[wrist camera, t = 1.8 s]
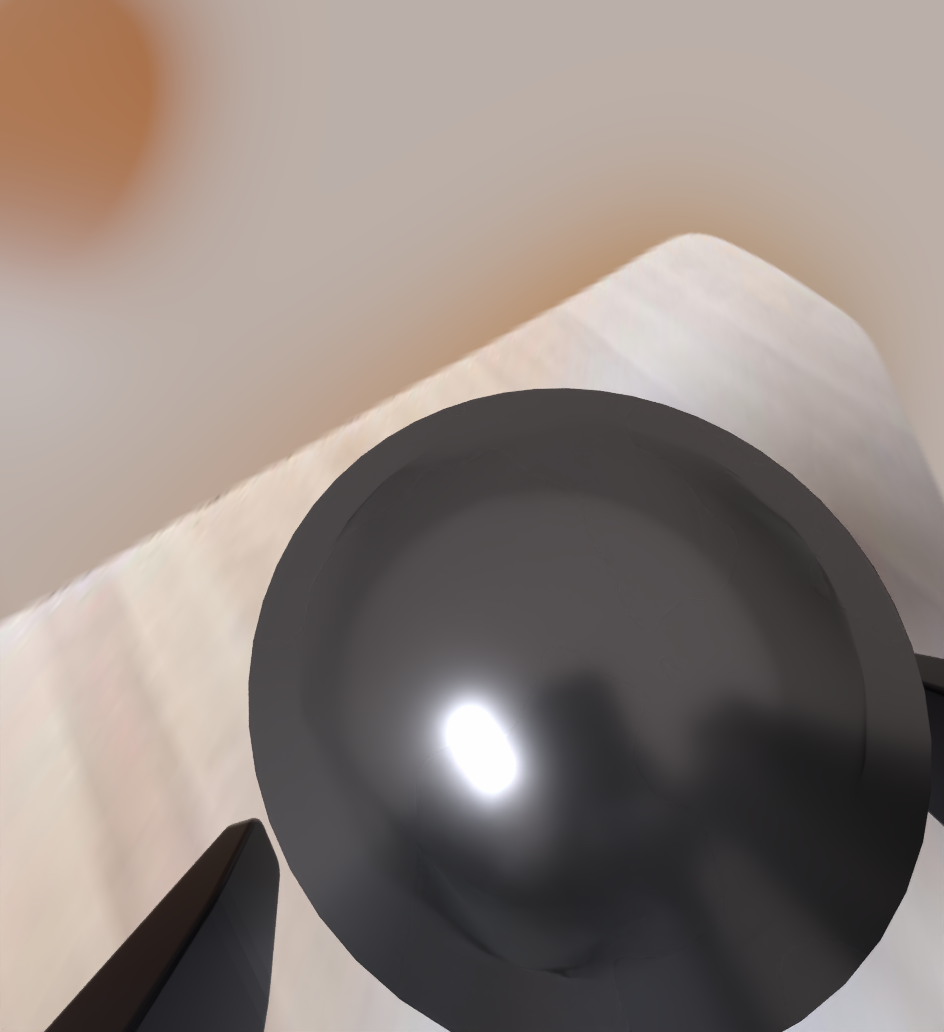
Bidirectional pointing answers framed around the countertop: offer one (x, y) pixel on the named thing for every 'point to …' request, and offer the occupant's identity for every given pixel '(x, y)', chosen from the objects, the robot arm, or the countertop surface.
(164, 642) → the countertop surface
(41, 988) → the countertop surface
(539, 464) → the hinge pin
